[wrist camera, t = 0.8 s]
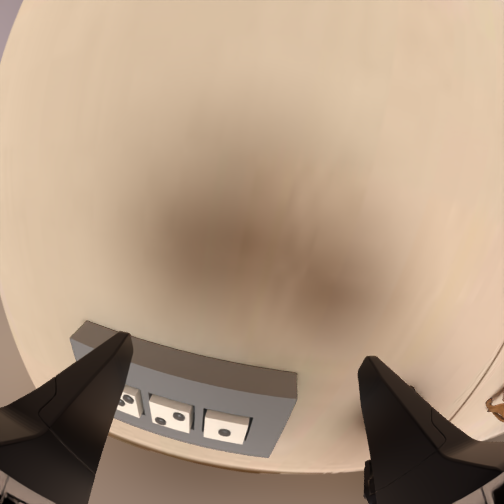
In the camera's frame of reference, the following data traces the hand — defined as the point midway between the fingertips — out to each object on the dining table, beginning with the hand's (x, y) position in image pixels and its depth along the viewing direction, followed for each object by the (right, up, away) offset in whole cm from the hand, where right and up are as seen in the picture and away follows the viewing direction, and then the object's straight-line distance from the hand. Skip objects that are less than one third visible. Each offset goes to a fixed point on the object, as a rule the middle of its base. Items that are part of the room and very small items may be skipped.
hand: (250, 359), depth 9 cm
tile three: (-13, -11, +15) cm, 23 cm away
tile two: (-8, -12, +15) cm, 20 cm away
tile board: (-8, -11, +17) cm, 21 cm away
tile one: (-2, -13, +14) cm, 19 cm away
